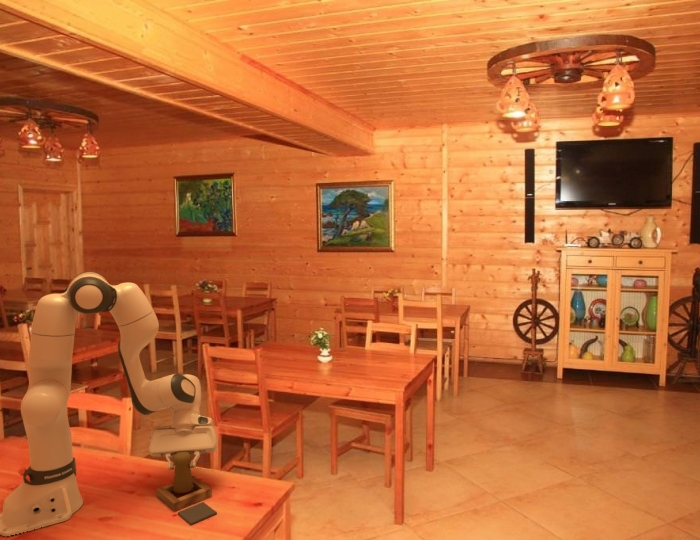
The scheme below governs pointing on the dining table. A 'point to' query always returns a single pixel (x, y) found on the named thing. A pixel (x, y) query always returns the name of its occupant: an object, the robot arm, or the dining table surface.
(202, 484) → the walnut housing
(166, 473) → the dining table surface
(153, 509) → the dining table surface
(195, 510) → the rubber mat
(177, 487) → the cork
